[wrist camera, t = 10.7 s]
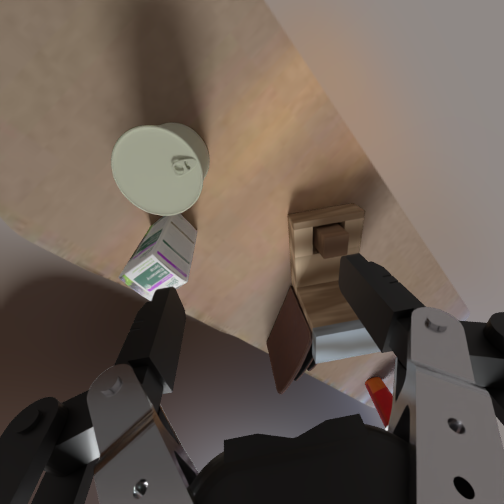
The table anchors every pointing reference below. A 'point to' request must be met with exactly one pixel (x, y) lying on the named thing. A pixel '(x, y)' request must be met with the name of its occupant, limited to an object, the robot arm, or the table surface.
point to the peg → (330, 240)
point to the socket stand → (327, 284)
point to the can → (160, 167)
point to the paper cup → (380, 398)
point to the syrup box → (161, 257)
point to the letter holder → (290, 343)
